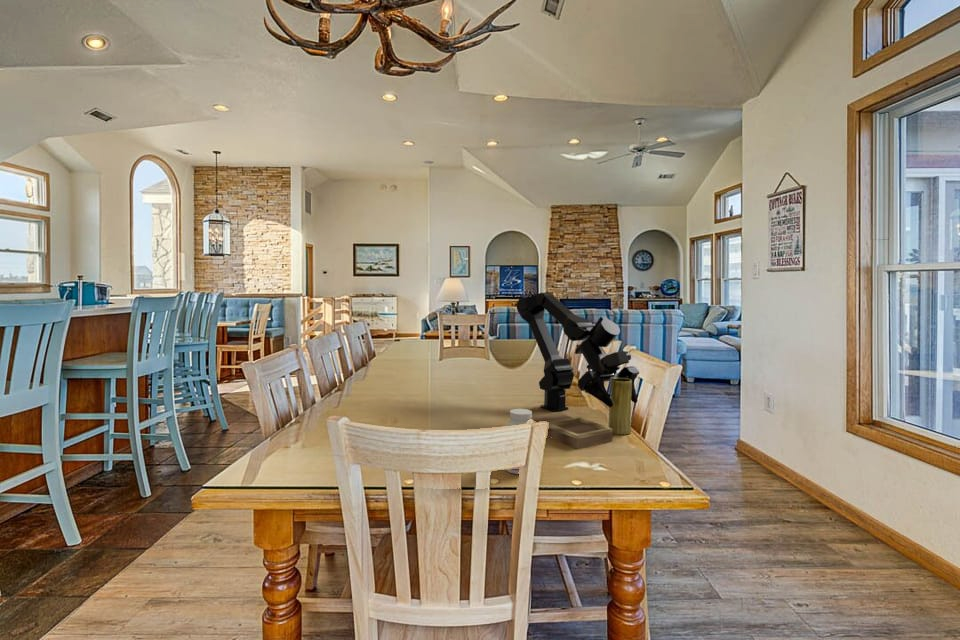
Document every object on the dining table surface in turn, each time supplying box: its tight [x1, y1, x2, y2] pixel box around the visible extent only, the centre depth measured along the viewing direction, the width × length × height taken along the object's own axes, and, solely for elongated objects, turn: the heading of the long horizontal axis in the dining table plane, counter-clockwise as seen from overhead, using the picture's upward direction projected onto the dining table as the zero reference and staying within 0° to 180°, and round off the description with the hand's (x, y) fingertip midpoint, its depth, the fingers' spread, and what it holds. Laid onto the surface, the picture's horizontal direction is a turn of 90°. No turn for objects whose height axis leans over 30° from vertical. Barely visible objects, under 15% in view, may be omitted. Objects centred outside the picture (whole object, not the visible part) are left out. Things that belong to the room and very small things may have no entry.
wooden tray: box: [531, 412, 613, 450], centre depth 138 cm, size 20×12×3 cm, turn 32°
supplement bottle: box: [505, 408, 533, 475], centre depth 112 cm, size 7×7×13 cm
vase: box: [607, 378, 632, 436], centre depth 141 cm, size 6×6×14 cm
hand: (624, 404), depth 139 cm, fingers open, 9 cm apart
